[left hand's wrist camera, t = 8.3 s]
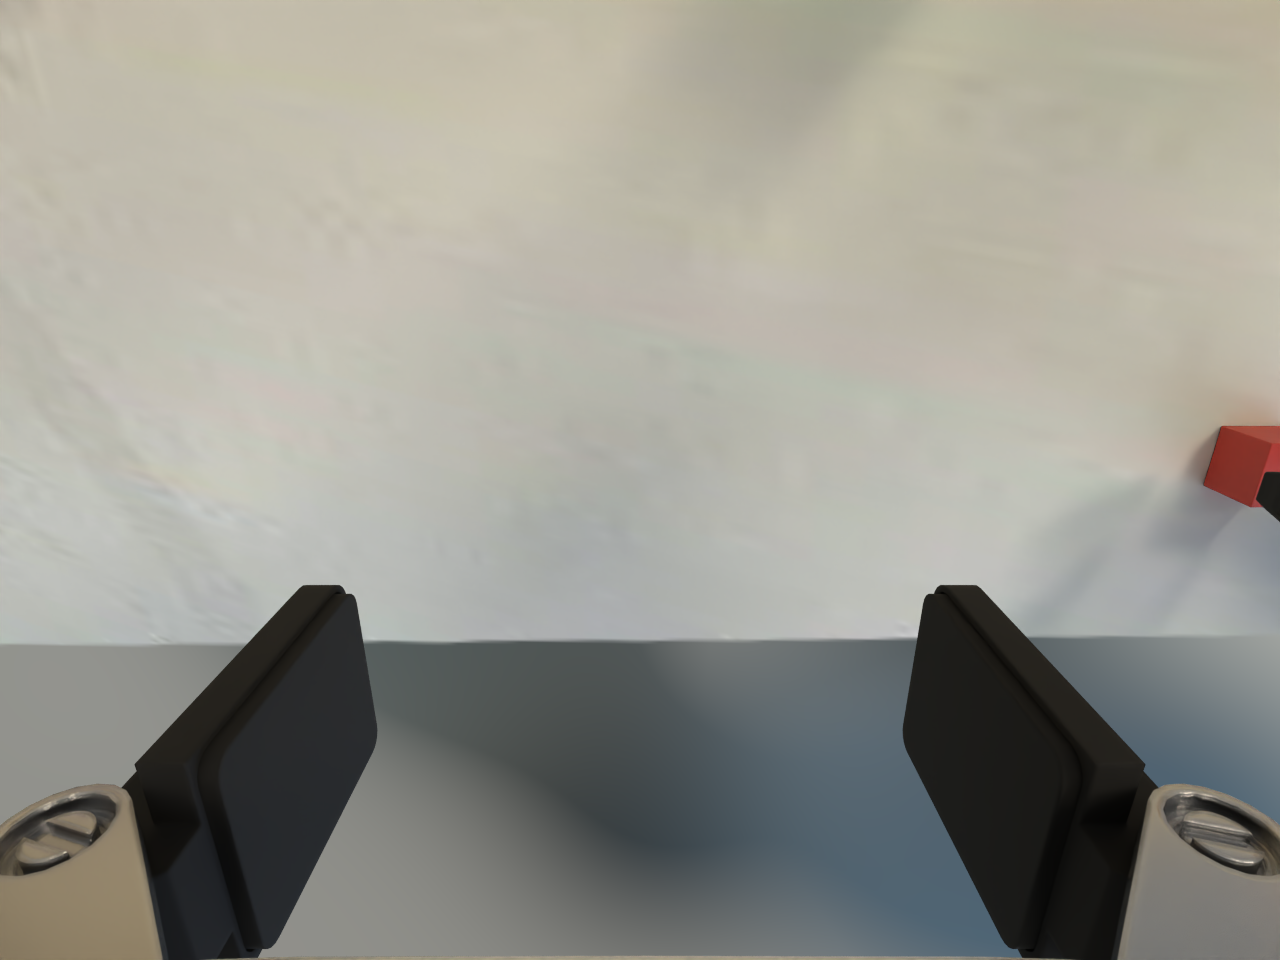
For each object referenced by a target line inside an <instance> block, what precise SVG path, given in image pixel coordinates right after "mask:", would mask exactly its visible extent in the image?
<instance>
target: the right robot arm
mask: <svg viewBox="0 0 1280 960" xmlns="http://www.w3.org/2000/svg"><path fill="white" fill-rule="evenodd" d="M1256 501H1257V502H1258V503H1259V504H1260V505H1261V506H1263V507H1264V508H1265V509H1266V510H1267V511H1268V512H1269V513H1270V514H1271V515H1273V516H1274V517H1275V518H1276V519H1277V520H1278V521H1279V522H1280V472H1265V473H1264V476H1263V479H1262V482H1261V485H1260V488H1259V491H1258V493H1257V496H1256Z"/></svg>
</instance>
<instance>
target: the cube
mask: <svg viewBox="0 0 1280 960" xmlns="http://www.w3.org/2000/svg"><path fill="white" fill-rule="evenodd" d="M1265 472H1280V426H1222V427H1221V430H1220V433H1219V436H1218V440H1217V443H1216V446H1215V449H1214V453H1213V456H1212V459H1211V463H1210V466H1209V469H1208V472H1207V476H1206V479H1205V482H1204V486H1206V487H1208V488H1210V489H1212V490H1214V491H1217V492H1219V493H1221V494H1223V495H1225V496H1227V497H1230V498H1232V499H1234V500H1236V501H1238V502H1240V503H1243V504H1245V505H1247V506H1249V507H1263V506H1261V505H1260V504H1259V503H1258V502H1257V501H1256V496H1257V493H1258V491H1259V488H1260V485H1261V482H1262V479H1263V476H1264V473H1265Z"/></svg>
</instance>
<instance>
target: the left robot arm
mask: <svg viewBox="0 0 1280 960" xmlns="http://www.w3.org/2000/svg"><path fill="white" fill-rule="evenodd" d="M376 739H377V723H376V717H375V711H374V705H373V699H372V693H371V687H370V681H369V675H368V669H367V662H366V656H365V650H364V644H363V638H362V632H361V626H360V620H359V614H358V608H357V603H356V599H355V597H354V595H352V594H346V593H345V590H344V589H343V587H341V586H340V585H303V586H302V587H301V588H299V589H298V590H297V591H296V592H295V594H294V595H293V596H292V597H291V598H290V599H289V600H288V601H287V602H286V603H285V604H284V605H283V606H282V607H281V608H280V610H279V611H278V612H277V613H276V614H275V615H274V616H273V617H272V618H271V619H270V620H269V621H268V622H267V623H266V624H265V626H264V627H263V628H262V629H261V630H260V631H259V632H258V633H257V634H256V635H255V636H254V637H253V638H252V639H251V641H250V642H249V643H248V644H247V645H246V646H245V647H244V648H243V649H242V650H241V651H240V652H239V653H238V654H237V655H236V657H235V658H234V659H233V660H232V661H231V662H230V663H229V664H228V665H227V666H226V667H225V668H224V669H223V670H222V671H221V673H220V674H219V675H218V676H217V677H216V678H215V679H214V680H213V681H212V682H211V683H210V684H209V685H208V686H207V688H206V689H205V690H204V691H203V692H202V693H201V694H200V695H199V696H198V697H197V698H196V699H195V700H194V701H193V703H192V704H191V705H190V706H189V707H188V708H187V709H186V710H185V711H184V712H183V713H182V714H181V715H180V716H179V717H178V718H177V720H176V721H175V722H174V723H173V724H172V725H171V726H170V727H169V728H168V729H167V730H166V731H165V732H164V733H163V735H162V736H161V737H160V738H159V739H158V740H157V741H156V742H155V743H154V744H153V745H152V746H151V747H150V748H149V749H148V751H147V752H146V753H145V754H144V755H143V756H142V757H141V758H140V759H139V760H138V761H137V762H136V763H135V767H136V770H137V771H136V773H135V774H134V775H133V776H132V777H131V778H130V779H129V780H128V781H127V782H126V783H125V785H124V786H123V787H122V788H120V787H118V786H116V785H109V784H93V785H86V786H80V787H75V788H72V789H68V790H65V791H62V792H59V793H56V794H53V795H51V796H49V797H47V798H44V799H42V800H40V801H38V802H36V803H34V804H32V805H30V806H28V807H26V808H25V809H23V810H22V811H20V812H18V813H17V814H15V815H14V816H12V817H10V818H9V819H7V820H6V821H5V822H4V823H3V824H1V825H0V960H1280V825H1279V824H1277V823H1276V822H1275V821H1274V820H1273V819H1271V818H1270V817H1268V816H1266V815H1265V814H1263V813H1262V812H1260V811H1258V810H1257V809H1255V808H1254V807H1252V806H1251V805H1248V804H1246V803H1244V802H1242V801H1240V800H1238V799H1236V798H1233V797H1231V796H1229V795H1227V794H1224V793H1221V792H1218V791H1215V790H1212V789H1208V788H1205V787H1201V786H1194V785H1188V784H1171V785H1164V786H1162V787H1160V788H1158V787H1157V786H1156V784H1155V783H1154V782H1153V781H1152V780H1151V779H1150V778H1149V777H1148V776H1147V775H1146V774H1145V773H1144V771H1143V770H1144V767H1145V763H1144V762H1143V761H1142V760H1141V759H1140V758H1139V757H1138V756H1137V755H1136V754H1135V753H1134V752H1133V751H1132V749H1131V748H1130V747H1129V746H1128V745H1127V744H1126V743H1125V742H1124V741H1123V740H1122V739H1121V738H1120V737H1119V736H1118V735H1117V733H1116V732H1115V731H1114V730H1113V729H1112V728H1111V727H1110V726H1109V725H1108V724H1107V723H1106V722H1105V721H1104V720H1103V718H1102V717H1101V716H1100V715H1099V714H1098V713H1097V712H1096V711H1095V710H1094V709H1093V708H1092V707H1091V706H1090V705H1089V704H1088V702H1087V701H1086V700H1085V699H1084V698H1083V697H1082V696H1081V695H1080V694H1079V693H1078V692H1077V691H1076V690H1075V689H1074V688H1073V686H1072V685H1071V684H1070V683H1069V682H1068V681H1067V680H1066V679H1065V678H1064V677H1063V676H1062V675H1061V674H1060V673H1059V672H1058V670H1057V669H1056V668H1055V667H1054V666H1053V665H1052V664H1051V663H1050V662H1049V661H1048V660H1047V659H1046V658H1045V657H1044V656H1043V654H1042V653H1041V652H1040V651H1039V650H1038V649H1037V648H1036V647H1035V646H1034V645H1033V644H1032V643H1031V642H1030V641H1029V639H1028V638H1027V637H1026V636H1025V635H1024V634H1023V633H1022V632H1021V631H1020V630H1019V629H1018V628H1017V627H1016V626H1015V624H1014V623H1013V622H1012V621H1011V620H1010V619H1009V618H1008V617H1007V616H1006V615H1005V614H1004V613H1003V612H1002V611H1001V610H1000V608H999V607H998V606H997V605H996V604H995V603H994V602H993V601H992V600H991V599H990V598H989V597H988V596H987V595H986V594H985V592H984V591H983V590H982V589H981V588H979V587H978V586H977V585H940V586H939V587H937V589H936V590H935V593H934V594H928V595H926V597H925V599H924V603H923V608H922V614H921V620H920V626H919V632H918V638H917V644H916V650H915V656H914V663H913V669H912V675H911V681H910V687H909V693H908V699H907V705H906V711H905V717H904V723H903V739H904V744H905V748H906V750H907V753H908V755H909V757H910V758H911V761H912V763H913V764H914V766H915V768H916V770H917V772H918V774H919V776H920V778H921V780H922V782H923V784H924V786H925V788H926V790H927V792H928V794H929V796H930V798H931V800H932V802H933V804H934V806H935V808H936V810H937V812H938V814H939V816H940V818H941V820H942V822H943V824H944V826H945V828H946V830H947V832H948V833H949V836H950V837H951V839H952V841H953V843H954V845H955V847H956V849H957V851H958V853H959V855H960V857H961V859H962V861H963V863H964V865H965V867H966V869H967V871H968V873H969V875H970V877H971V879H972V881H973V883H974V885H975V887H976V889H977V891H978V893H979V895H980V897H981V899H982V901H983V903H984V905H985V907H986V909H987V911H988V912H989V914H990V916H991V918H992V920H993V922H994V924H995V926H996V928H997V930H998V932H999V934H1000V936H1001V938H1002V940H1003V941H1004V943H1005V944H1006V945H1007V946H1008V947H1009V948H1012V949H1018V950H1019V952H1020V954H1021V956H1022V958H1006V957H872V956H867V957H866V956H416V957H415V956H410V957H409V956H408V957H406V956H405V957H273V958H258V956H259V954H260V952H261V950H262V949H268V948H271V947H272V946H273V945H274V944H275V943H276V941H277V940H278V938H279V936H280V934H281V932H282V930H283V928H284V926H285V924H286V922H287V920H288V918H289V917H290V914H291V913H292V910H293V909H294V907H295V905H296V903H297V901H298V899H299V897H300V895H301V893H302V891H303V889H304V887H305V885H306V883H307V881H308V879H309V877H310V875H311V873H312V871H313V869H314V867H315V865H316V863H317V861H318V859H319V857H320V855H321V853H322V851H323V849H324V847H325V845H326V843H327V841H328V840H329V838H330V836H331V834H332V831H333V830H334V828H335V826H336V824H337V822H338V820H339V818H340V816H341V814H342V812H343V810H344V808H345V806H346V804H347V802H348V800H349V798H350V796H351V794H352V792H353V790H354V788H355V786H356V784H357V782H358V780H359V778H360V776H361V774H362V772H363V770H364V768H365V766H366V764H367V763H368V761H369V759H370V757H371V755H372V753H373V750H374V748H375V744H376Z"/></svg>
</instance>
